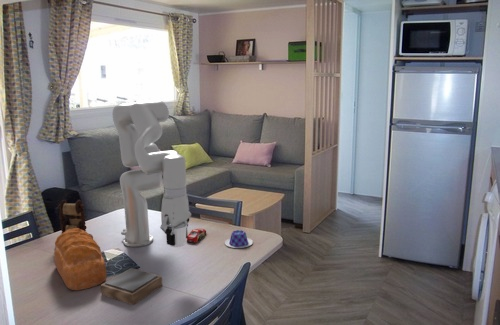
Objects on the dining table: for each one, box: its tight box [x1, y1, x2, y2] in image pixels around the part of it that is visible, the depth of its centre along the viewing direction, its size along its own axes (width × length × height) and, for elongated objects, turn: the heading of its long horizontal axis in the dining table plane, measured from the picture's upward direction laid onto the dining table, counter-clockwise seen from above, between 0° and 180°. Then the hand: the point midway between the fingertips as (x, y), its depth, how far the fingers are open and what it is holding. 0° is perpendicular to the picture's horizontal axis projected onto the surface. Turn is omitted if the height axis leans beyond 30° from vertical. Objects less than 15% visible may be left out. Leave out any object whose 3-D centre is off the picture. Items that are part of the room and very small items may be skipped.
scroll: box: [57, 199, 94, 239], centre depth 181 cm, size 15×15×20 cm
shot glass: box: [169, 222, 188, 248], centre depth 148 cm, size 7×7×7 cm
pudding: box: [224, 229, 254, 249], centre depth 182 cm, size 12×12×5 cm
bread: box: [53, 228, 107, 291], centre depth 155 cm, size 14×26×16 cm, turn 34°
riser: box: [100, 267, 163, 306], centre depth 144 cm, size 14×14×4 cm
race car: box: [186, 228, 207, 243], centre depth 189 cm, size 13×5×4 cm, turn 163°
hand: (177, 240), depth 148 cm, fingers closed on shot glass, 6 cm apart
